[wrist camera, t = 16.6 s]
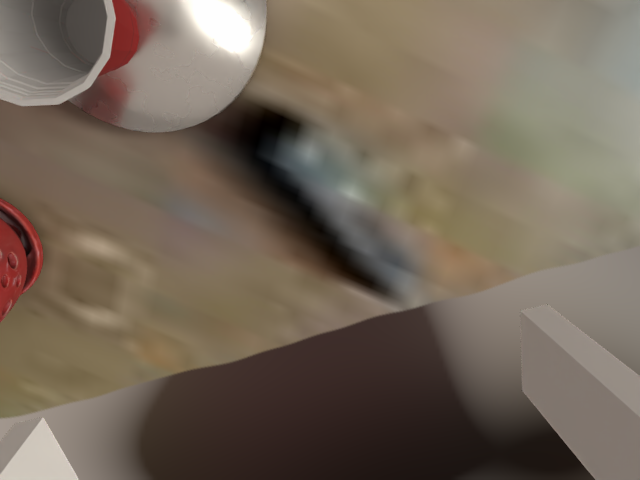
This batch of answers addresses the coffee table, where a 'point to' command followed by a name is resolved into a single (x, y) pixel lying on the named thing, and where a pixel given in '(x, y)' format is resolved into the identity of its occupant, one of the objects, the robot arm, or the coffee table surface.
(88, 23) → the plastic cup
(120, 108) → the disc
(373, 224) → the coffee table surface
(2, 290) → the plant pot
